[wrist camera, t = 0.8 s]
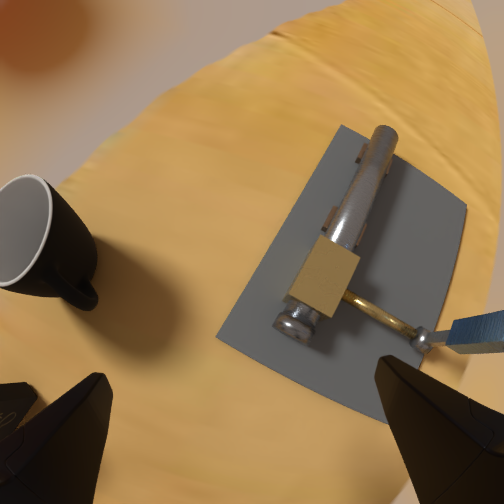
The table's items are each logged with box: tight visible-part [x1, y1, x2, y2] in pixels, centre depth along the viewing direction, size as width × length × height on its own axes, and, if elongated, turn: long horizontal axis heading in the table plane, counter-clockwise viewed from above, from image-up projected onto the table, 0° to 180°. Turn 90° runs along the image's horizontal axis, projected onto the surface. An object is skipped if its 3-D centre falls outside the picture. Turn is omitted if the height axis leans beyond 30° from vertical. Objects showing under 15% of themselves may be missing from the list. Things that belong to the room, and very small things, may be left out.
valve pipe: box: [272, 125, 417, 346], centre depth 25 cm, size 23×12×4 cm, turn 150°
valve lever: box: [409, 310, 504, 354], centre depth 17 cm, size 2×2×12 cm
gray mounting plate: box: [216, 124, 467, 425], centre depth 26 cm, size 26×18×1 cm
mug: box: [0, 174, 98, 311], centre depth 21 cm, size 12×9×10 cm
